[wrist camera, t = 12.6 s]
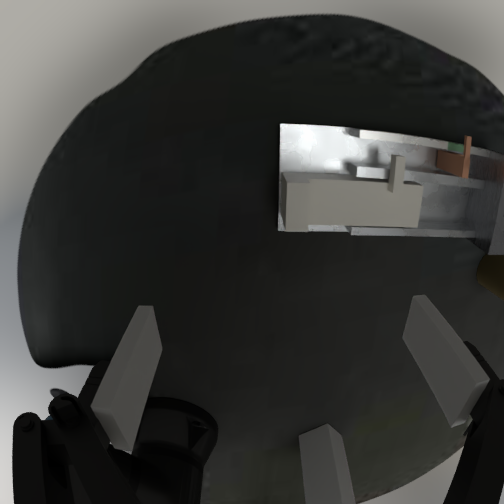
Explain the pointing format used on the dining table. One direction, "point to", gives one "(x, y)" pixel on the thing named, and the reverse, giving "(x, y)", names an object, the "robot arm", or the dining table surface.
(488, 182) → the gauge housing
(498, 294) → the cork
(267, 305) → the dining table surface
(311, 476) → the milk
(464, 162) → the brown l-shaped block
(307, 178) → the plunger
